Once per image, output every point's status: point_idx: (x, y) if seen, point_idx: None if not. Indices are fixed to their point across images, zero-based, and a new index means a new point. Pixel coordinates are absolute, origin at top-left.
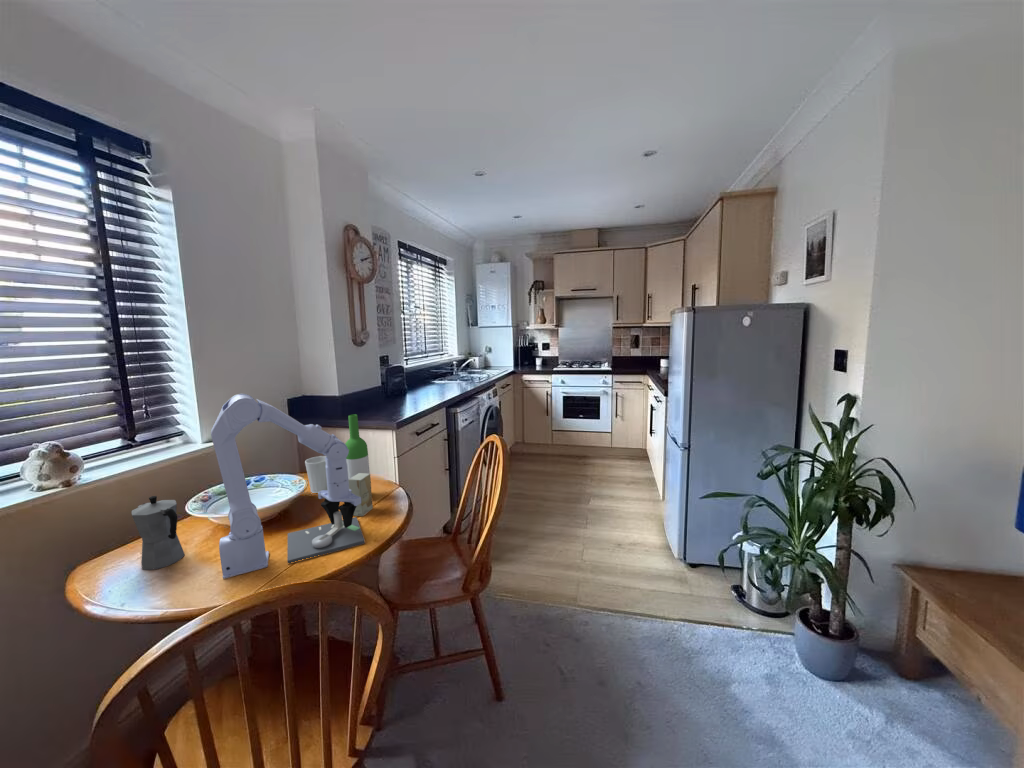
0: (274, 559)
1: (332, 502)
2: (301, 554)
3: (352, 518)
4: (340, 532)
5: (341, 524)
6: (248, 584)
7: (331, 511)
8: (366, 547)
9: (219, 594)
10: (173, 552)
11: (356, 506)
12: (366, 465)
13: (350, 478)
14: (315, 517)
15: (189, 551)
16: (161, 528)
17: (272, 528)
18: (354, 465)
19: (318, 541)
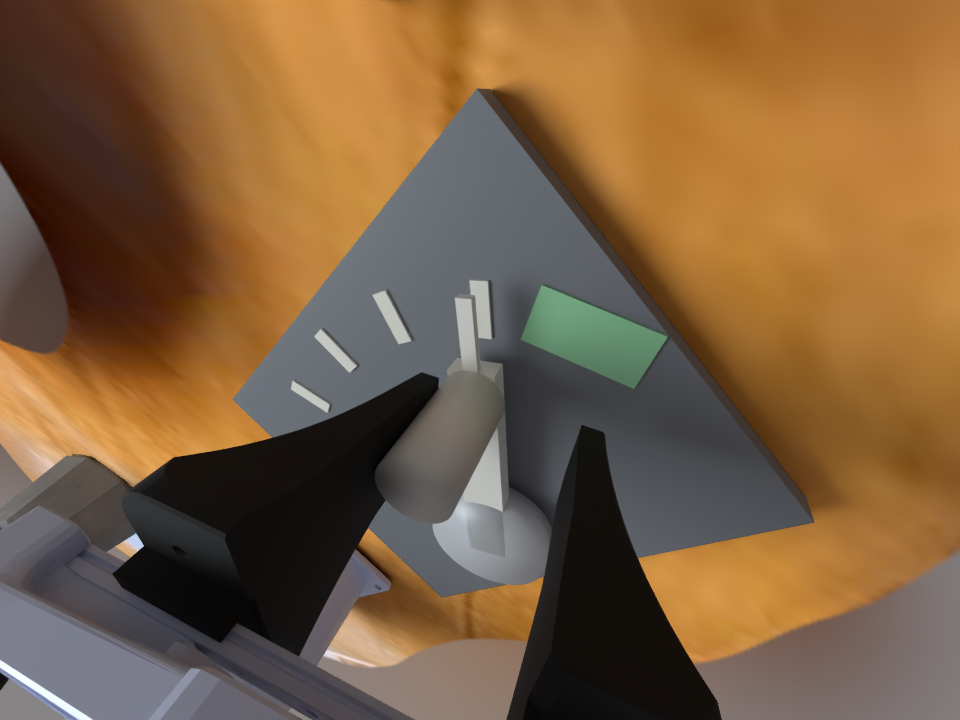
0: (370, 541)
1: (283, 606)
2: (462, 573)
3: (611, 479)
4: (519, 404)
5: (499, 421)
6: (419, 635)
7: (358, 523)
8: (841, 542)
9: (386, 646)
10: (108, 527)
11: (675, 636)
12: None
13: None
14: (141, 137)
15: (103, 458)
16: None
17: (113, 314)
18: None
19: (485, 561)
